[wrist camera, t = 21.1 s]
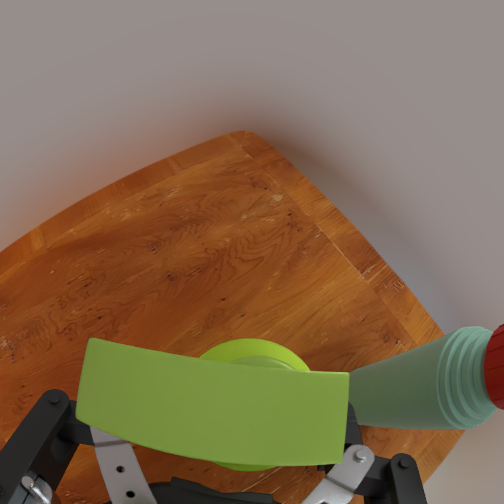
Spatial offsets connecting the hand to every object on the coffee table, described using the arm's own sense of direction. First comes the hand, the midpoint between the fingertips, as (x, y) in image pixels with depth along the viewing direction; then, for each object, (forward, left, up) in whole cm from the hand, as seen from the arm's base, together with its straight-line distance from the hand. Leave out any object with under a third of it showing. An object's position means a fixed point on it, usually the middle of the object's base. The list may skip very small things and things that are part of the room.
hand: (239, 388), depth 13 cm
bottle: (-10, -6, -11) cm, 16 cm away
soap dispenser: (0, +1, -11) cm, 11 cm away
